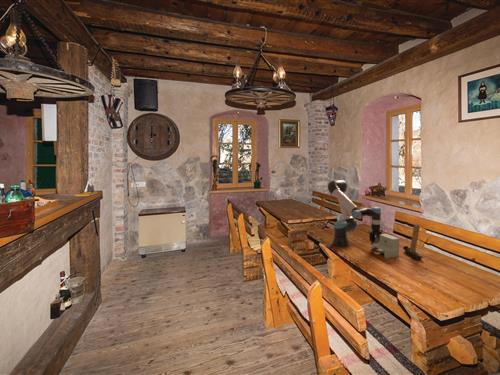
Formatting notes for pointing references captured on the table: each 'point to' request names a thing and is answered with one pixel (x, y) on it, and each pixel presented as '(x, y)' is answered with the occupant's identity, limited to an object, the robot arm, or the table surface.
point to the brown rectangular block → (378, 242)
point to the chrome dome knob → (378, 253)
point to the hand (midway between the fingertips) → (375, 247)
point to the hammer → (413, 244)
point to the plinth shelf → (388, 245)
